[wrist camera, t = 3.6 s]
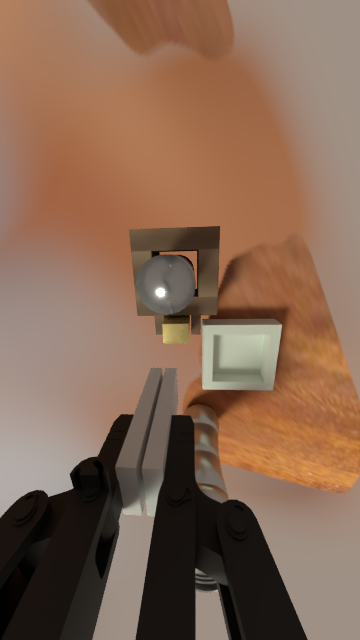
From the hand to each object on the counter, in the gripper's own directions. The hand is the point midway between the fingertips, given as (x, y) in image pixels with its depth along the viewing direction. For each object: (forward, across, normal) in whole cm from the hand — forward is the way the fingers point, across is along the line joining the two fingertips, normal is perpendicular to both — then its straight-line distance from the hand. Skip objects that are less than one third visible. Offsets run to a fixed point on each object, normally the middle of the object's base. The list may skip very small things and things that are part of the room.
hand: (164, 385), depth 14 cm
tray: (+18, +9, -7) cm, 21 cm away
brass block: (+18, 0, 0) cm, 18 cm away
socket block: (+18, 0, +5) cm, 19 cm away
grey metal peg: (+18, 0, +6) cm, 19 cm away
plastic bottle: (+18, +3, -20) cm, 27 cm away
